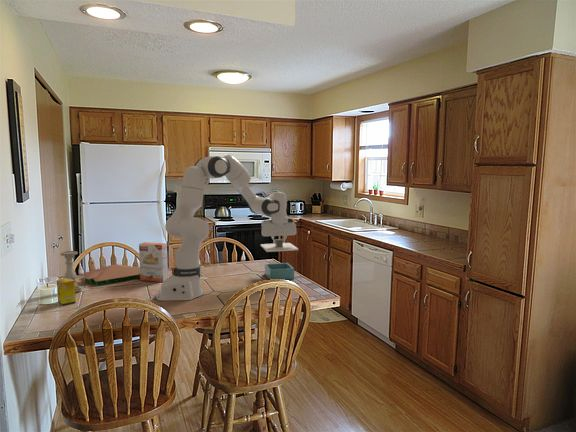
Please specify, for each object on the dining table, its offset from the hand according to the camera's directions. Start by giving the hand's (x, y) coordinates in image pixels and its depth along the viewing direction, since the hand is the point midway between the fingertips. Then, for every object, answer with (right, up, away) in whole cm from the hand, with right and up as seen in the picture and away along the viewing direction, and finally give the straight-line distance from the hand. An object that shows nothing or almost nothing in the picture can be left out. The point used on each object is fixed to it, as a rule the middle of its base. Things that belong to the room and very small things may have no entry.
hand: (279, 243), depth 237 cm
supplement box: (-98, -25, -46) cm, 111 cm away
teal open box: (0, -19, +2) cm, 20 cm away
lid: (0, -3, 0) cm, 3 cm away
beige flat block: (-93, -20, -3) cm, 95 cm away
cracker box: (-70, -20, -7) cm, 73 cm away
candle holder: (-104, -23, -29) cm, 111 cm away
